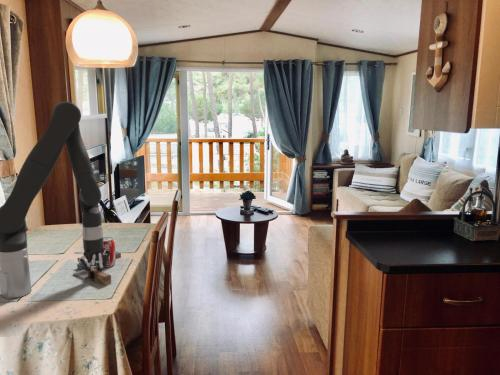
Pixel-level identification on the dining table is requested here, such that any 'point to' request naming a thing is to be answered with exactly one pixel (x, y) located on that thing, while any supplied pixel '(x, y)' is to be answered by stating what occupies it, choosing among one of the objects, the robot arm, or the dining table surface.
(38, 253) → the dining table surface
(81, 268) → the strip
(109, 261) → the soda can
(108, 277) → the curved tan plank
